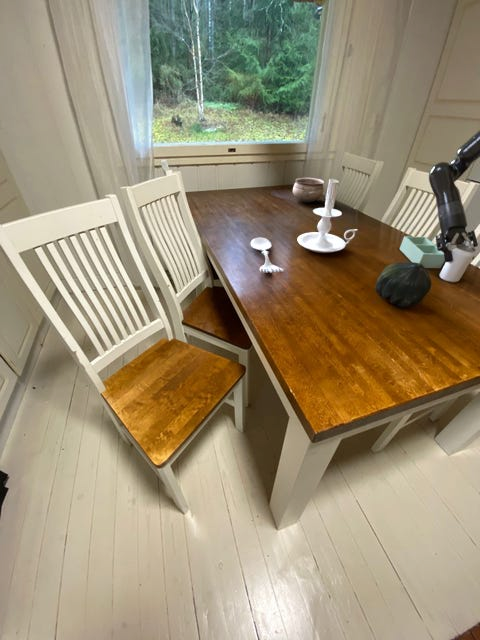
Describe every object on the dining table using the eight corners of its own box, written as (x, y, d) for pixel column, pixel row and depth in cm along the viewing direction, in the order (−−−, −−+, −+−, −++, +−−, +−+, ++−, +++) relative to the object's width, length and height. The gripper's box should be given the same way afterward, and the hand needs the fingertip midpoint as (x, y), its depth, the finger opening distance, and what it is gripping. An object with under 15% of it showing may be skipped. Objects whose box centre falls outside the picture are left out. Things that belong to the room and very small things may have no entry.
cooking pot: (287, 196, 185) (290, 176, 177) (315, 196, 186) (318, 176, 178) (296, 207, 165) (299, 185, 158) (326, 207, 167) (331, 185, 159)
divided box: (420, 249, 121) (425, 236, 117) (440, 268, 107) (447, 254, 104) (399, 248, 121) (404, 236, 117) (417, 267, 108) (423, 254, 104)
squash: (382, 266, 96) (391, 247, 82) (429, 279, 91) (447, 261, 77) (367, 303, 95) (373, 289, 81) (413, 318, 90) (429, 306, 76)
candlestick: (360, 258, 113) (383, 185, 95) (300, 258, 113) (313, 184, 95) (344, 239, 129) (362, 173, 111) (292, 238, 129) (302, 172, 111)
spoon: (259, 278, 99) (259, 270, 97) (249, 242, 124) (249, 235, 122) (283, 278, 100) (284, 269, 98) (268, 242, 125) (269, 235, 123)
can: (458, 284, 98) (477, 253, 90) (438, 279, 101) (454, 249, 93) (458, 276, 102) (476, 246, 95) (439, 272, 105) (454, 242, 97)
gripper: (443, 213, 94) (452, 258, 92) (478, 211, 96) (488, 255, 94) (425, 223, 101) (433, 265, 100) (459, 221, 103) (467, 262, 102)
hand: (460, 260), depth 97 cm, fingers open, 8 cm apart
